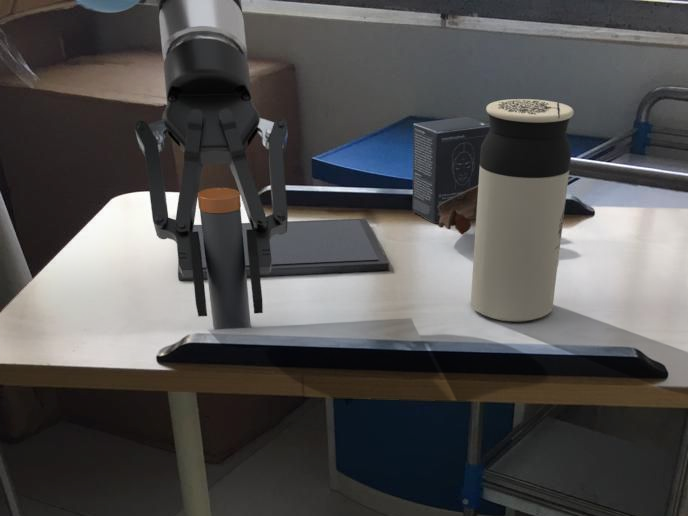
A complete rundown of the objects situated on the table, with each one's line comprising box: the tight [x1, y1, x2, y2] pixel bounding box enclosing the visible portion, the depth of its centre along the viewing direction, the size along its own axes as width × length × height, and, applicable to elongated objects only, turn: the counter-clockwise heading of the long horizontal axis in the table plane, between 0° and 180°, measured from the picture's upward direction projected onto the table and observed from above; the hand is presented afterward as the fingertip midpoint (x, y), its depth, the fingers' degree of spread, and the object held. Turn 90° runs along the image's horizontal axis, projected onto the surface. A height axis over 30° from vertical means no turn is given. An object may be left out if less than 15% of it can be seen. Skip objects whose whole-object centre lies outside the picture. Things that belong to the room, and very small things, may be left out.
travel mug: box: [470, 98, 575, 323], centre depth 81 cm, size 8×8×18 cm
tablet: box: [177, 217, 390, 281], centre depth 99 cm, size 22×16×1 cm
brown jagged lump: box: [437, 185, 478, 236], centre depth 101 cm, size 12×10×8 cm
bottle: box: [197, 187, 252, 330], centre depth 78 cm, size 4×4×12 cm
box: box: [411, 116, 490, 224], centre depth 108 cm, size 8×6×11 cm
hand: (230, 307), depth 77 cm, fingers open, 4 cm apart
